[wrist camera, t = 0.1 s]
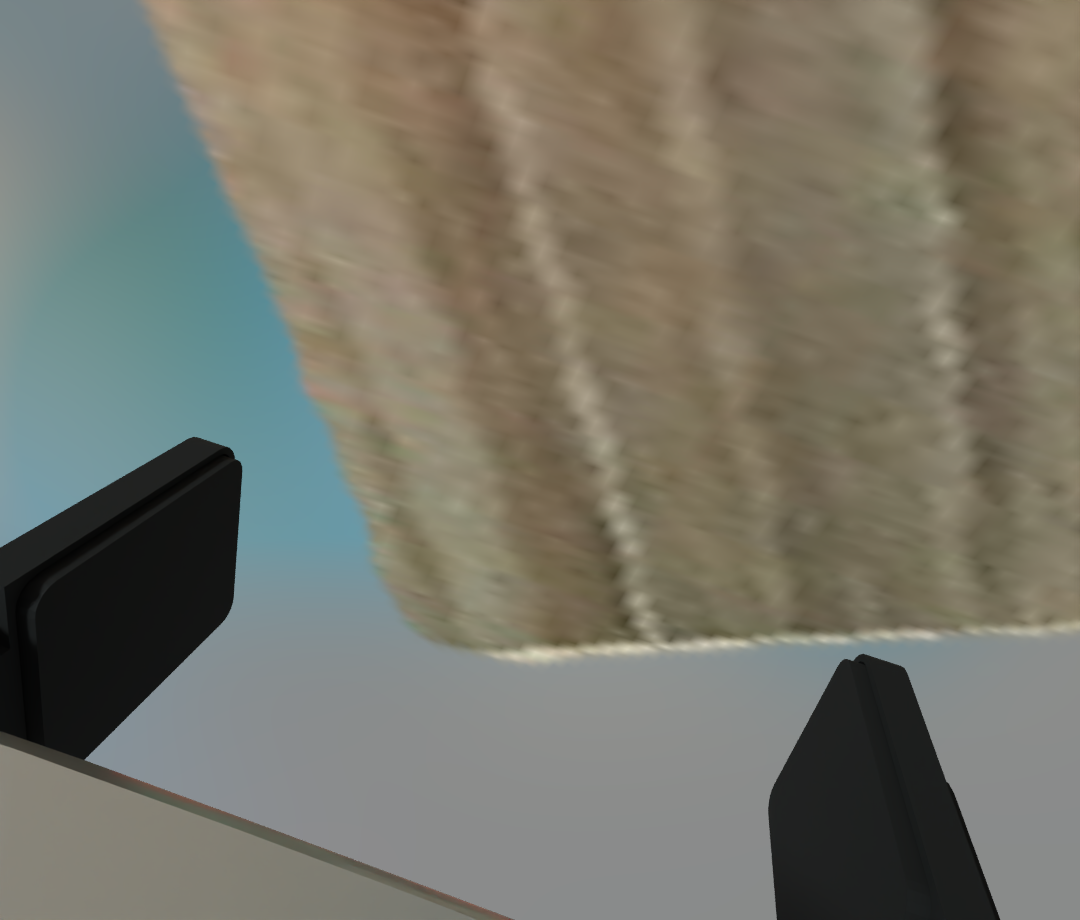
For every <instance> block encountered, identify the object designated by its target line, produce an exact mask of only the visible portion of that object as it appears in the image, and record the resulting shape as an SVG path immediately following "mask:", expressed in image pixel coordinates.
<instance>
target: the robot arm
mask: <svg viewBox="0 0 1080 920" xmlns="http://www.w3.org/2000/svg"><path fill="white" fill-rule="evenodd" d="M241 482H242V465H241V463H240V462H239V461H238V460H235V456H234V453H233V451H232V450H231V449H230V448H228V447H225V446H222V445H219V444H216V443H213V442H210V441H207V440H204V439H201V438H197V437H192V438H189V439H187V440H185V441H184V442H182V443H180V444H179V445H177V446H175V447H173V448H172V449H170V450H168V451H167V452H165V453H163V454H161V455H160V456H158V457H156V458H155V459H153V460H151V461H149V462H148V463H146V464H144V465H142V466H141V467H139V468H137V469H135V470H134V471H132V472H130V473H128V474H127V475H125V476H123V477H122V478H120V479H118V480H116V481H115V482H113V483H111V484H110V485H108V486H106V487H104V488H103V489H101V490H99V491H97V492H96V493H94V494H92V495H90V496H89V497H87V498H85V499H84V500H82V501H80V502H78V503H77V504H75V505H73V506H72V507H70V508H68V509H66V510H65V511H63V512H61V513H59V514H58V515H56V516H54V517H53V518H51V519H49V520H47V521H46V522H44V523H42V524H41V525H39V526H37V527H35V528H34V529H32V530H30V531H28V532H27V533H25V534H23V535H21V536H20V537H18V538H16V539H15V540H13V541H11V542H9V543H8V544H6V545H4V546H3V547H1V548H0V920H513V919H511V918H508V917H506V916H503V915H500V914H498V913H495V912H492V911H490V910H487V909H484V908H482V907H479V906H476V905H474V904H471V903H468V902H466V901H463V900H460V899H457V898H455V897H452V896H450V895H447V894H444V893H442V892H439V891H436V890H434V889H431V888H428V887H426V886H423V885H420V884H418V883H415V882H412V881H409V880H407V879H404V878H402V877H399V876H396V875H394V874H391V873H388V872H386V871H383V870H380V869H378V868H375V867H372V866H370V865H367V864H364V863H362V862H359V861H356V860H354V859H351V858H348V857H345V856H343V855H340V854H337V853H335V852H332V851H329V850H327V849H324V848H321V847H319V846H316V845H313V844H310V843H308V842H305V841H303V840H300V839H297V838H294V837H292V836H289V835H286V834H284V833H281V832H278V831H276V830H273V829H270V828H268V827H265V826H262V825H259V824H257V823H254V822H251V821H249V820H246V819H243V818H240V817H238V816H235V815H232V814H229V813H227V812H224V811H221V810H219V809H216V808H213V807H210V806H208V805H205V804H202V803H199V802H197V801H194V800H191V799H189V798H186V797H183V796H180V795H177V794H175V793H172V792H170V791H167V790H164V789H161V788H159V787H156V786H153V785H151V784H148V783H145V782H142V781H140V780H137V779H134V778H131V777H128V776H126V775H123V774H121V773H118V772H115V771H112V770H109V769H107V768H104V767H101V766H99V765H96V764H93V763H91V762H88V761H85V759H86V757H88V756H89V754H90V753H91V752H93V751H94V750H95V748H97V747H98V746H99V745H100V744H101V743H102V742H103V741H104V740H105V739H106V738H107V737H108V736H109V735H110V734H111V733H112V732H113V731H114V730H115V729H116V728H117V727H118V726H119V725H120V724H121V723H122V722H123V721H124V720H125V719H126V718H127V717H128V716H129V715H130V714H131V713H132V712H133V711H134V710H135V709H136V708H137V707H138V706H139V705H140V704H141V703H142V702H143V701H144V700H145V699H146V698H147V697H148V696H149V695H150V694H151V693H152V692H153V691H154V690H155V689H156V688H157V687H158V686H159V685H160V684H161V683H162V682H163V681H164V680H165V679H166V678H167V677H168V676H169V675H170V674H171V673H172V672H173V671H174V670H175V669H176V668H177V667H178V666H179V665H180V664H181V663H182V662H183V661H184V660H185V659H186V658H187V657H188V656H189V655H190V654H191V653H192V652H193V651H194V650H195V649H196V648H197V647H198V646H199V645H200V644H201V643H202V642H203V641H204V640H205V639H206V638H207V637H208V636H209V635H210V634H211V633H212V632H213V631H214V630H215V629H216V628H217V627H218V626H219V625H220V624H221V623H222V622H223V621H224V620H225V618H226V617H227V615H228V613H229V611H230V609H231V606H232V603H233V598H234V583H235V569H236V553H237V540H238V539H237V538H238V525H239V511H240V497H241ZM768 814H769V828H770V839H771V852H772V865H773V877H774V888H775V902H776V914H777V920H1000V918H999V915H998V912H997V910H996V907H995V904H994V901H993V899H992V896H991V893H990V890H989V888H988V885H987V882H986V879H985V877H984V874H983V871H982V869H981V866H980V863H979V860H978V858H977V855H976V852H975V850H974V847H973V844H972V842H971V839H970V836H969V833H968V831H967V828H966V825H965V822H964V819H963V817H962V814H961V811H960V808H959V806H958V803H957V800H956V798H955V795H954V793H953V791H952V789H951V787H950V785H949V784H948V783H947V782H946V780H945V777H944V774H943V771H942V769H941V766H940V763H939V760H938V758H937V755H936V752H935V749H934V747H933V744H932V741H931V739H930V735H929V732H928V730H927V727H926V724H925V721H924V719H923V716H922V713H921V710H920V707H919V705H918V702H917V699H916V696H915V693H914V691H913V688H912V685H911V682H910V680H909V677H908V674H907V672H906V670H905V668H903V667H901V666H899V665H896V664H893V663H890V662H887V661H884V660H881V659H878V658H874V657H871V656H868V655H865V654H861V655H859V656H858V657H856V658H855V660H854V661H851V660H848V659H844V660H843V661H842V662H840V664H839V665H838V667H837V669H836V671H835V673H834V675H833V676H832V678H831V680H830V682H829V684H828V686H827V688H826V689H825V691H824V693H823V695H822V697H821V699H820V700H819V702H818V704H817V706H816V708H815V710H814V712H813V713H812V715H811V717H810V719H809V721H808V723H807V725H806V727H805V728H804V730H803V732H802V734H801V736H800V738H799V740H798V741H797V743H796V745H795V747H794V749H793V751H792V753H791V754H790V756H789V758H788V760H787V762H786V764H785V766H784V767H783V770H782V771H781V773H780V775H779V777H778V779H777V781H776V782H775V784H774V787H773V789H772V792H771V795H770V799H769V807H768Z"/></svg>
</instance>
